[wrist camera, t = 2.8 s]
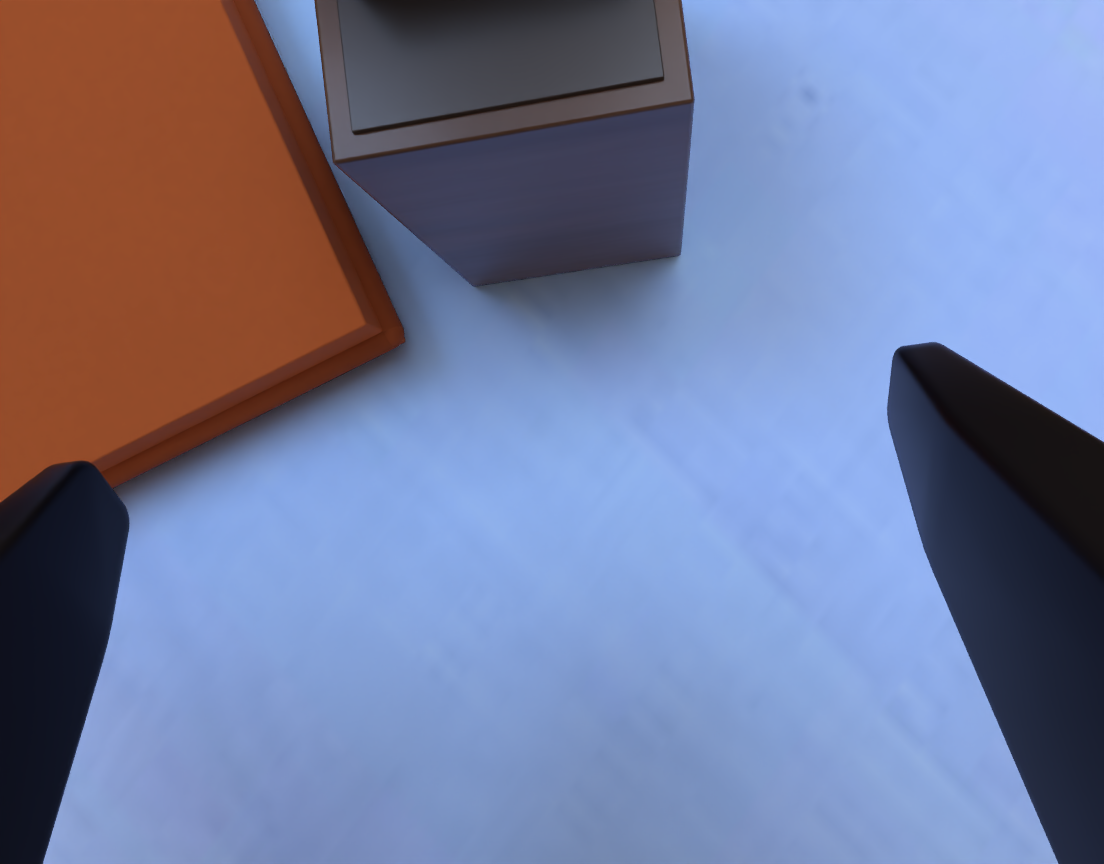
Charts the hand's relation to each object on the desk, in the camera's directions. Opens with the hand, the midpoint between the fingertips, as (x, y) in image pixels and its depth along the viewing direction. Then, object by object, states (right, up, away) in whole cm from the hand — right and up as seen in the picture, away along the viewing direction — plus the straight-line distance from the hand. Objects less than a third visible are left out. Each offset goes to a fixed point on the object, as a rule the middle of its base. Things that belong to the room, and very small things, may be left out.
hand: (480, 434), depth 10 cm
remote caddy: (+1, +8, +14) cm, 16 cm away
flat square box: (-14, +6, +15) cm, 22 cm away
